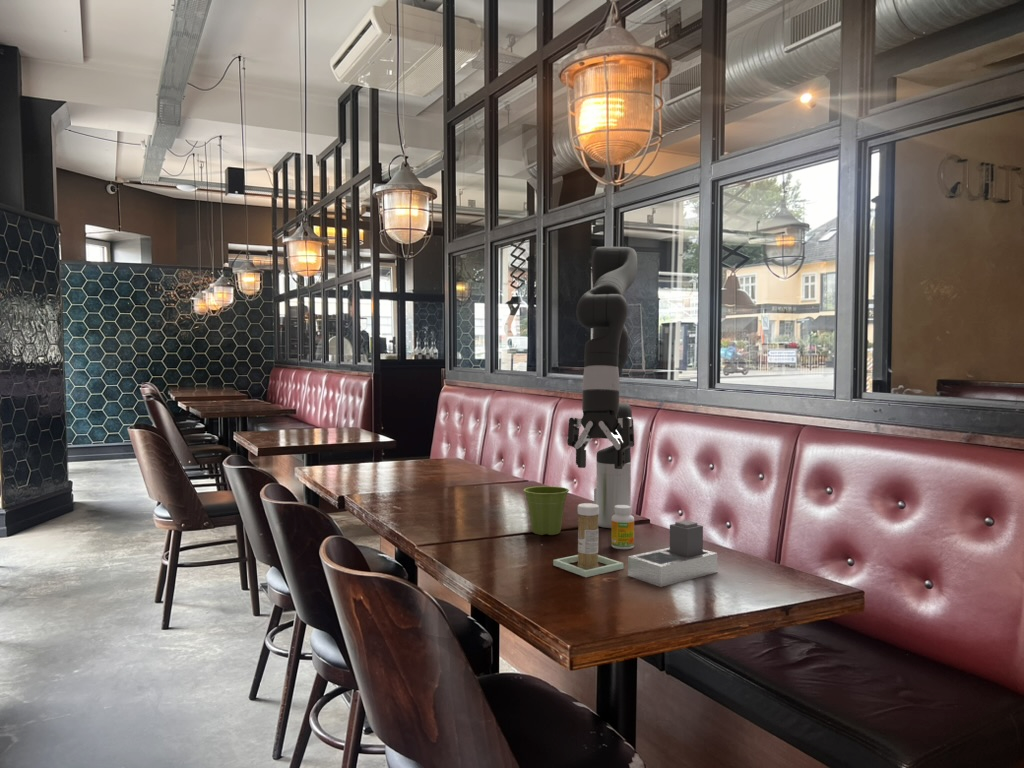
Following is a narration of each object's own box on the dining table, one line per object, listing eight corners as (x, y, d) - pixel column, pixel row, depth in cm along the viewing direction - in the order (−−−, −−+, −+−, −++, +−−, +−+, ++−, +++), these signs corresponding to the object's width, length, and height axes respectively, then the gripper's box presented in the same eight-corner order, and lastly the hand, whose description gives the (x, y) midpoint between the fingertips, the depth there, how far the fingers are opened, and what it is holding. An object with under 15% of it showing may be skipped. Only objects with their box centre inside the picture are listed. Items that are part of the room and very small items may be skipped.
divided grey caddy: (628, 575, 143) (628, 556, 143) (683, 562, 153) (684, 544, 153) (660, 587, 136) (660, 566, 136) (717, 572, 146) (717, 553, 146)
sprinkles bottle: (575, 564, 152) (575, 502, 151) (596, 563, 152) (596, 502, 152) (579, 570, 147) (579, 507, 147) (601, 569, 148) (601, 506, 147)
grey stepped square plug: (669, 567, 147) (669, 521, 147) (684, 563, 150) (685, 519, 150) (687, 572, 143) (687, 526, 143) (702, 568, 146) (703, 523, 146)
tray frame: (553, 565, 151) (553, 559, 151) (590, 557, 157) (590, 552, 157) (585, 577, 142) (585, 571, 142) (623, 568, 148) (623, 563, 148)
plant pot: (575, 529, 184) (575, 487, 184) (559, 540, 173) (559, 494, 173) (534, 525, 189) (534, 484, 189) (515, 535, 178) (515, 491, 178)
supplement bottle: (616, 550, 163) (617, 509, 163) (607, 544, 168) (607, 504, 168) (638, 548, 165) (638, 507, 164) (628, 543, 170) (628, 503, 170)
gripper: (640, 390, 143) (639, 469, 141) (580, 392, 151) (579, 467, 150) (623, 386, 137) (622, 469, 135) (562, 388, 145) (560, 467, 144)
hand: (599, 468), depth 142 cm, fingers open, 8 cm apart
